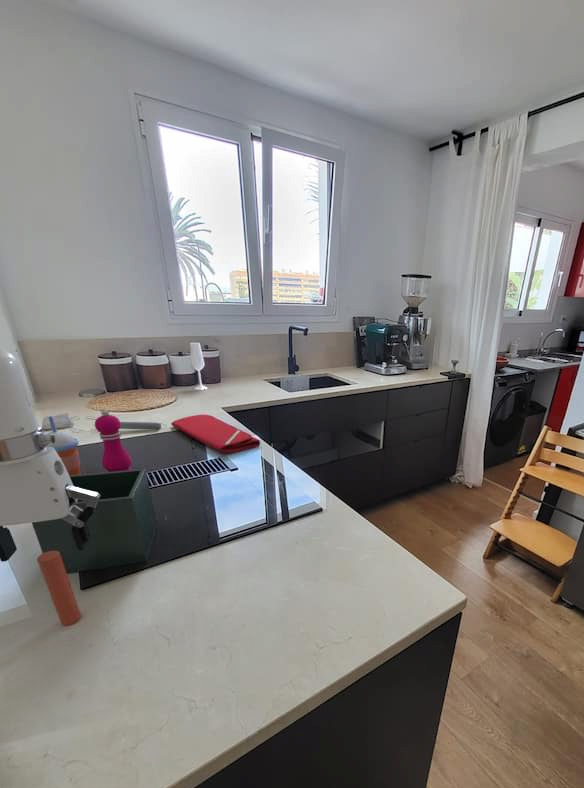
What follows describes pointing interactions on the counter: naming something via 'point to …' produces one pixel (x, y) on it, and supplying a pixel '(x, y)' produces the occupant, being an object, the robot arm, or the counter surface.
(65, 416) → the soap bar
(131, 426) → the kitchen whisk
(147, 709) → the counter surface
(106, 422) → the pepper mill
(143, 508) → the bin
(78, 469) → the cup with straw
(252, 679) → the counter surface
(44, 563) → the orange cylinder
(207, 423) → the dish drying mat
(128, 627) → the counter surface
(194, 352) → the champagne flute
